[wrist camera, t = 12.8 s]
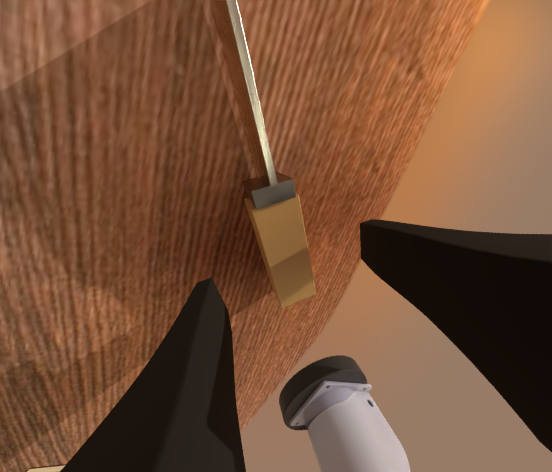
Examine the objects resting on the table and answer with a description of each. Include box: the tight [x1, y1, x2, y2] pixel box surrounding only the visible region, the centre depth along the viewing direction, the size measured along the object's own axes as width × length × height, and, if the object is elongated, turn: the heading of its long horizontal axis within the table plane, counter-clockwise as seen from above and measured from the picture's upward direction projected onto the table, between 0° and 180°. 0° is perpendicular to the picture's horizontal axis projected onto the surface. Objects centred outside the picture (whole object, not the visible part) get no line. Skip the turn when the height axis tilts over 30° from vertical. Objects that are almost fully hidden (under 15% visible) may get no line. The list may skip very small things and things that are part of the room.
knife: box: [210, 0, 316, 308], centre depth 9 cm, size 14×2×3 cm, turn 14°
